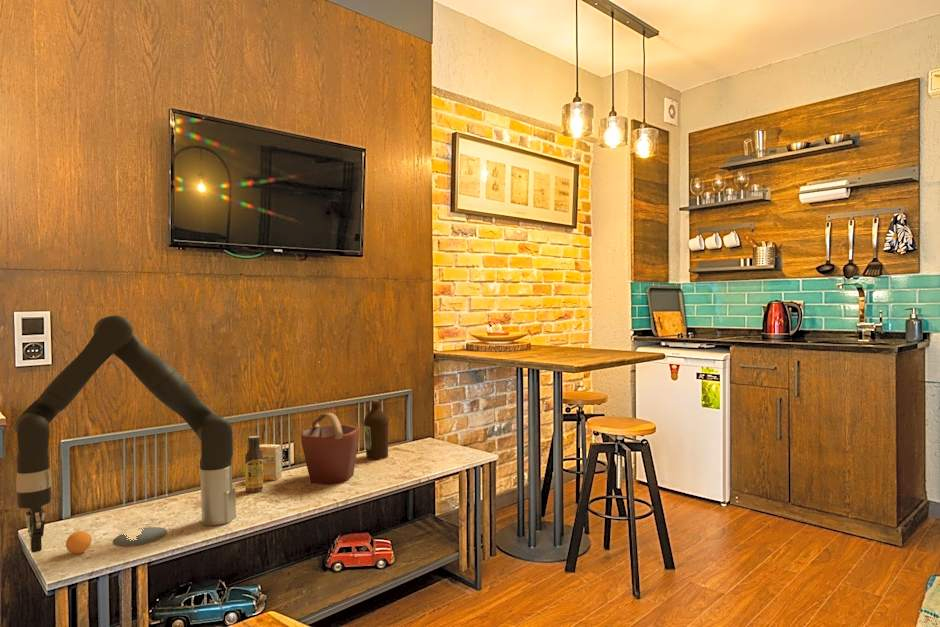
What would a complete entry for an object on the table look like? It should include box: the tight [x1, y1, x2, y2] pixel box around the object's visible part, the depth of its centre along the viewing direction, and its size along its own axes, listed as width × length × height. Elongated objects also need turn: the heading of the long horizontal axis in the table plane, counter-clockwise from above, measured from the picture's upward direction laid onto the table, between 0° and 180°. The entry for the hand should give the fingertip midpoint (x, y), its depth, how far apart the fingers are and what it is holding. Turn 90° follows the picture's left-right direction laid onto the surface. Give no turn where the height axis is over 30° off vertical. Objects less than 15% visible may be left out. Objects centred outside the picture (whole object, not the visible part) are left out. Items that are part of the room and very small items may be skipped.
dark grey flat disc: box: [112, 526, 168, 547], centre depth 179 cm, size 14×14×1 cm
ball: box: [65, 530, 92, 555], centre depth 168 cm, size 6×6×6 cm
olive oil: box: [363, 399, 389, 461], centre depth 263 cm, size 11×11×25 cm
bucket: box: [300, 412, 360, 486], centre depth 234 cm, size 24×22×25 cm
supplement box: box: [259, 443, 283, 481], centre depth 235 cm, size 8×5×13 cm, turn 81°
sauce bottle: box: [244, 435, 264, 493], centre depth 220 cm, size 6×6×20 cm
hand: (36, 551), depth 162 cm, fingers closed
